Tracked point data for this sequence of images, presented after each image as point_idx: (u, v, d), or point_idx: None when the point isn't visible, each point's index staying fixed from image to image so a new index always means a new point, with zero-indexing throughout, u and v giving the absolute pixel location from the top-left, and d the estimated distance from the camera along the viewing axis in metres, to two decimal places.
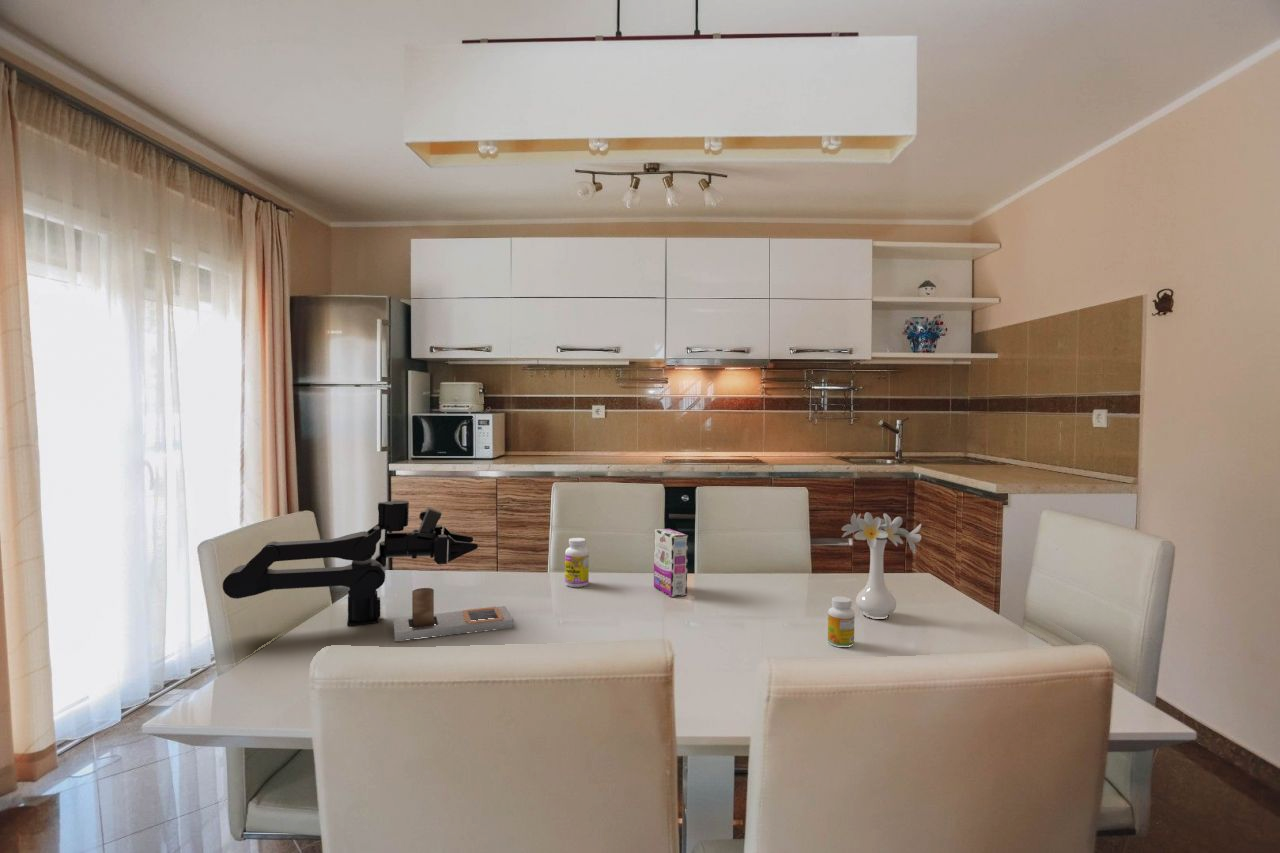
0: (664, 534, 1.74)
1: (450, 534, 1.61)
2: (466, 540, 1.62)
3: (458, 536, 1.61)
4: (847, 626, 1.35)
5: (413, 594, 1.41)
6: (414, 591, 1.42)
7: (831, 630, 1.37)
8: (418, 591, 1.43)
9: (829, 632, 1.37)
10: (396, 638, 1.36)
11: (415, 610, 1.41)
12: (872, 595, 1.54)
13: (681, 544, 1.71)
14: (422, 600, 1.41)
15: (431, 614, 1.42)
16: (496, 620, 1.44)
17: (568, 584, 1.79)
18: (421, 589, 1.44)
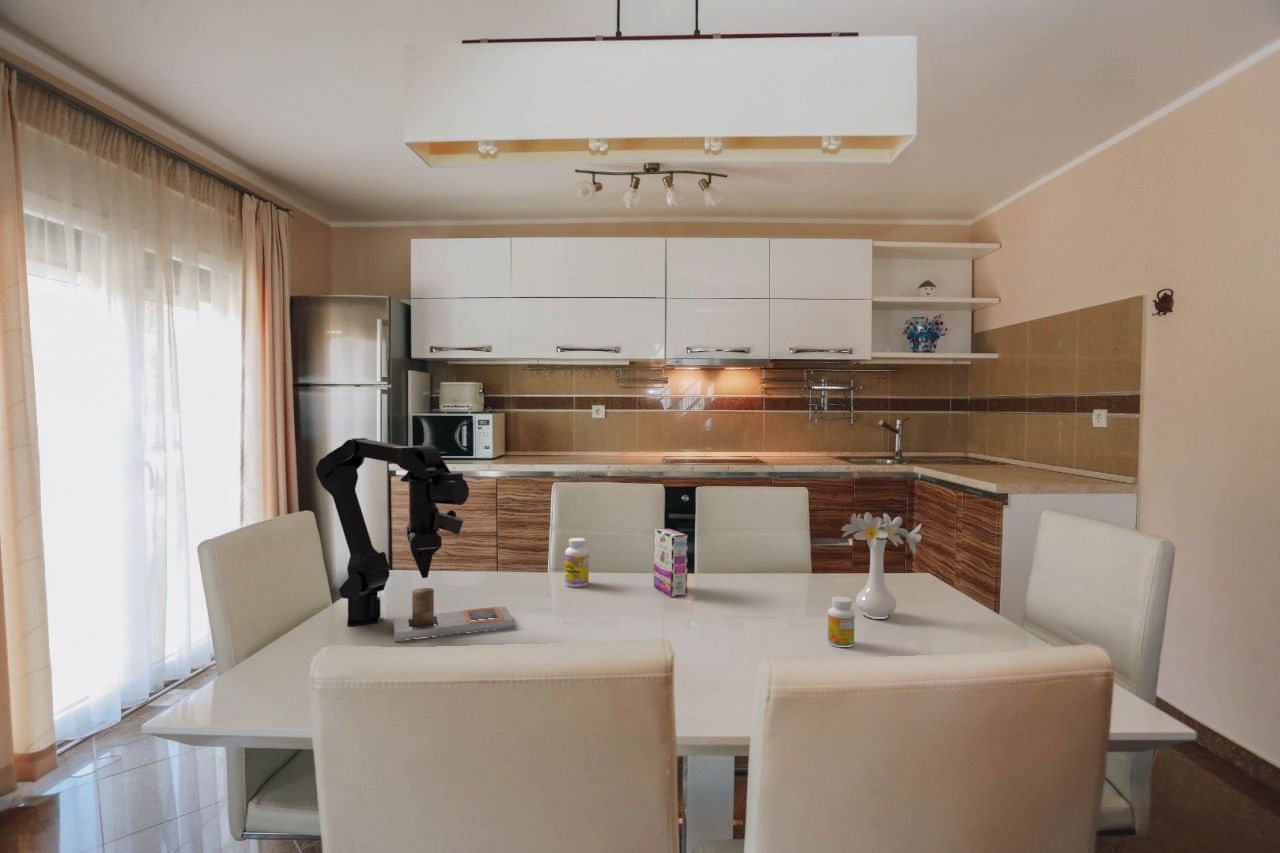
0: (664, 534, 1.74)
1: None
2: None
3: None
4: (847, 626, 1.35)
5: (413, 594, 1.41)
6: (414, 591, 1.42)
7: (831, 630, 1.37)
8: (418, 591, 1.43)
9: (829, 632, 1.37)
10: (396, 638, 1.36)
11: (415, 610, 1.41)
12: (872, 595, 1.54)
13: (681, 544, 1.71)
14: (422, 600, 1.41)
15: (431, 614, 1.42)
16: (496, 620, 1.44)
17: (568, 584, 1.79)
18: (421, 589, 1.44)
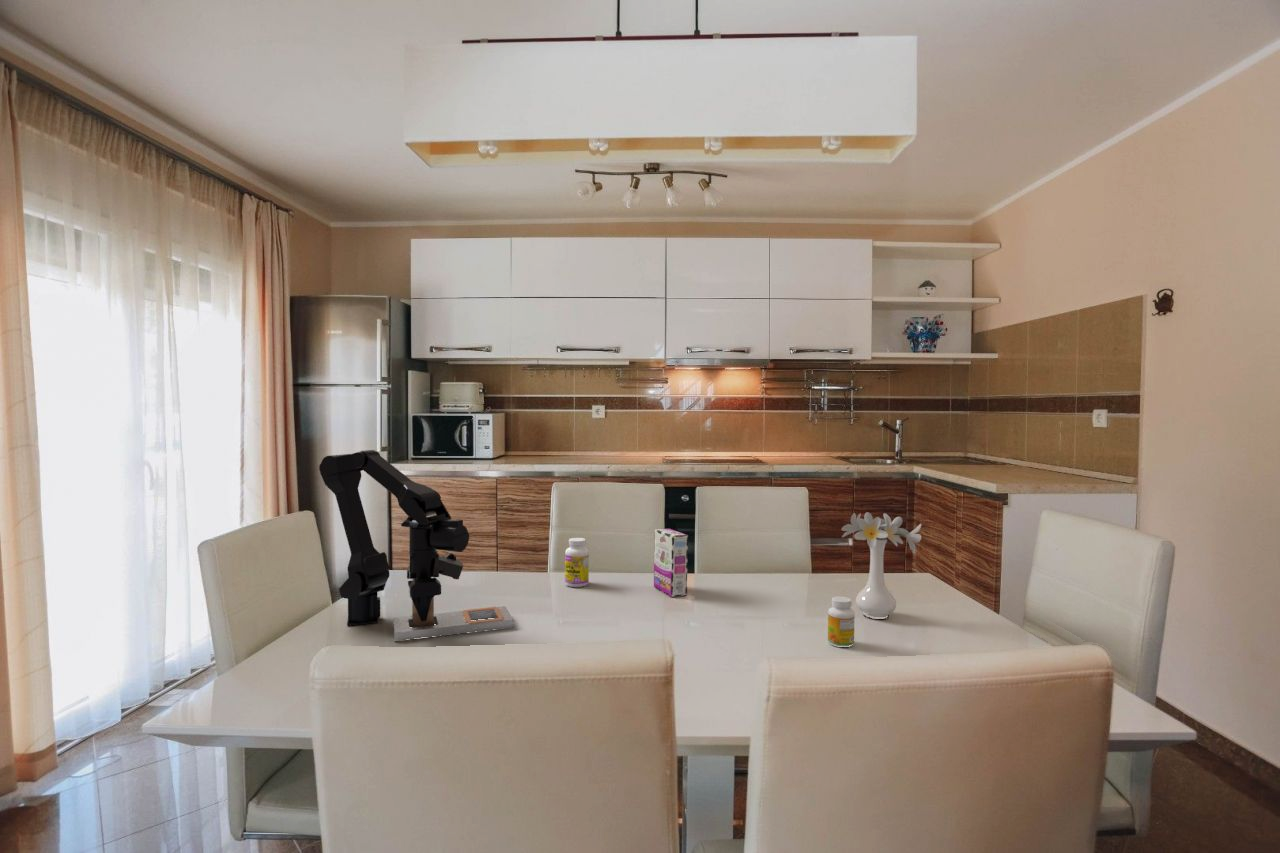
0: (664, 534, 1.74)
1: None
2: None
3: None
4: (847, 626, 1.35)
5: None
6: None
7: (831, 630, 1.37)
8: None
9: (829, 632, 1.37)
10: (396, 638, 1.36)
11: (415, 610, 1.41)
12: (872, 595, 1.54)
13: (681, 544, 1.71)
14: None
15: (431, 614, 1.42)
16: (496, 620, 1.44)
17: (568, 584, 1.79)
18: None
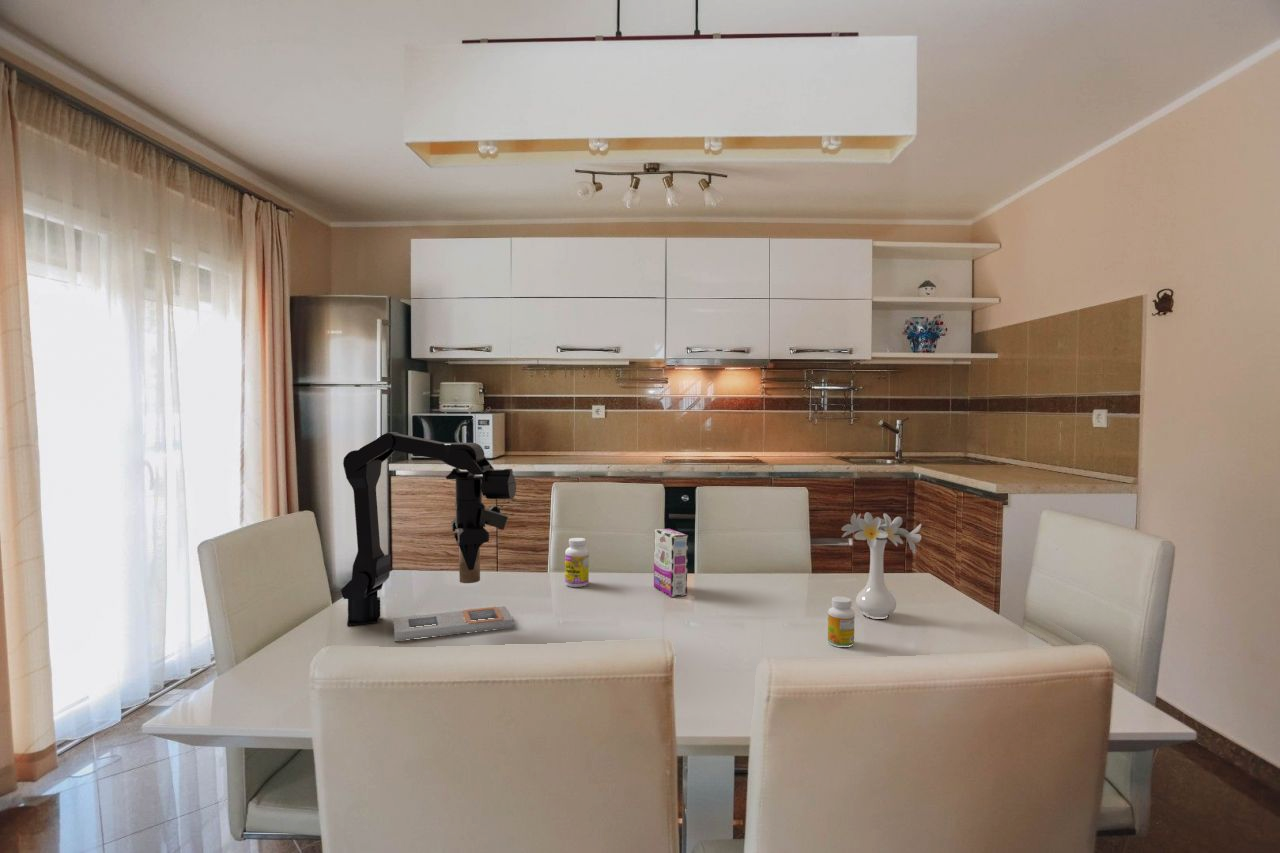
0: (664, 534, 1.74)
1: None
2: None
3: None
4: (847, 626, 1.35)
5: None
6: None
7: (831, 630, 1.37)
8: None
9: (829, 632, 1.37)
10: (396, 638, 1.36)
11: (463, 560, 1.44)
12: (872, 595, 1.54)
13: (681, 544, 1.71)
14: None
15: (478, 563, 1.45)
16: (496, 620, 1.44)
17: (568, 584, 1.79)
18: None
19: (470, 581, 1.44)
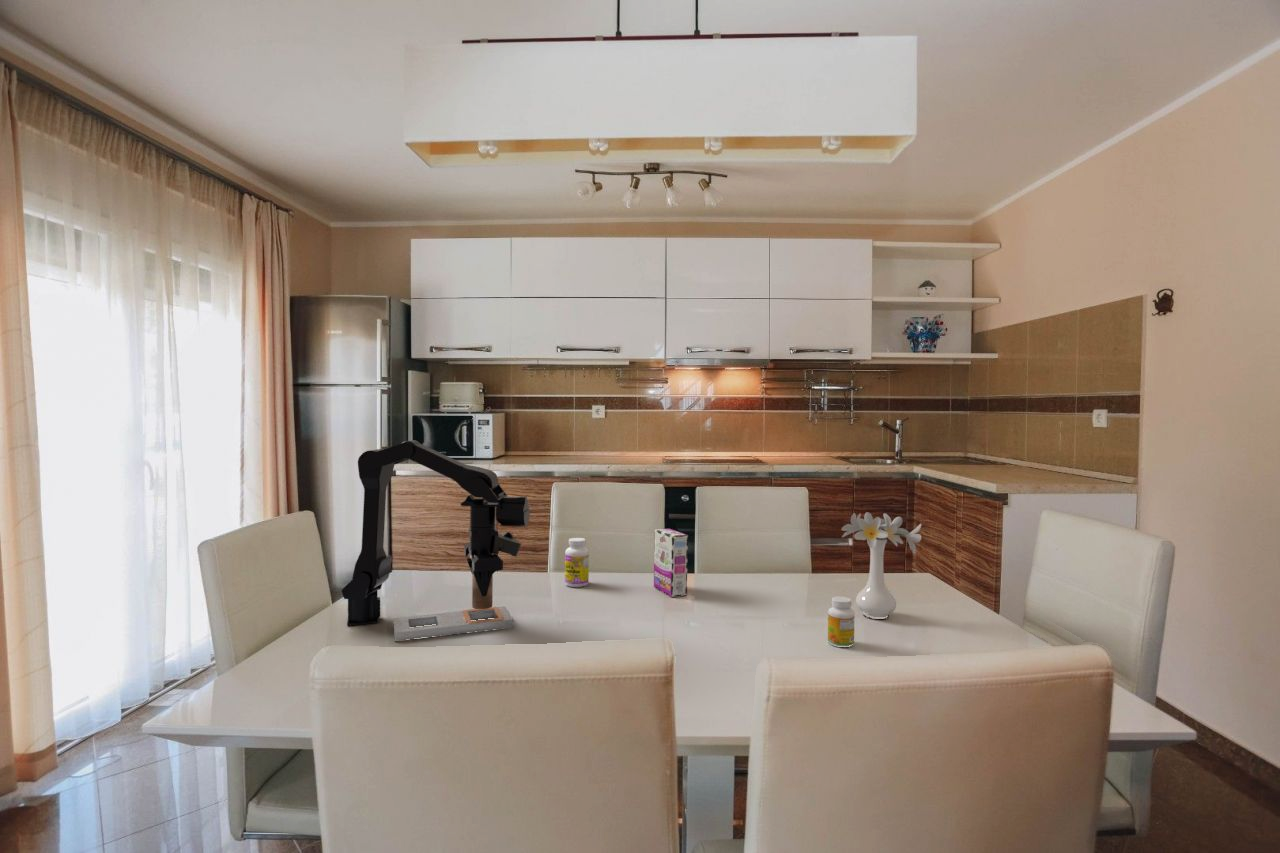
0: (664, 534, 1.74)
1: None
2: None
3: None
4: (847, 626, 1.35)
5: None
6: None
7: (831, 630, 1.37)
8: None
9: (829, 632, 1.37)
10: (396, 638, 1.36)
11: (476, 586, 1.46)
12: (872, 595, 1.54)
13: (681, 544, 1.71)
14: None
15: (490, 590, 1.47)
16: (496, 620, 1.44)
17: (568, 584, 1.79)
18: None
19: (483, 607, 1.46)
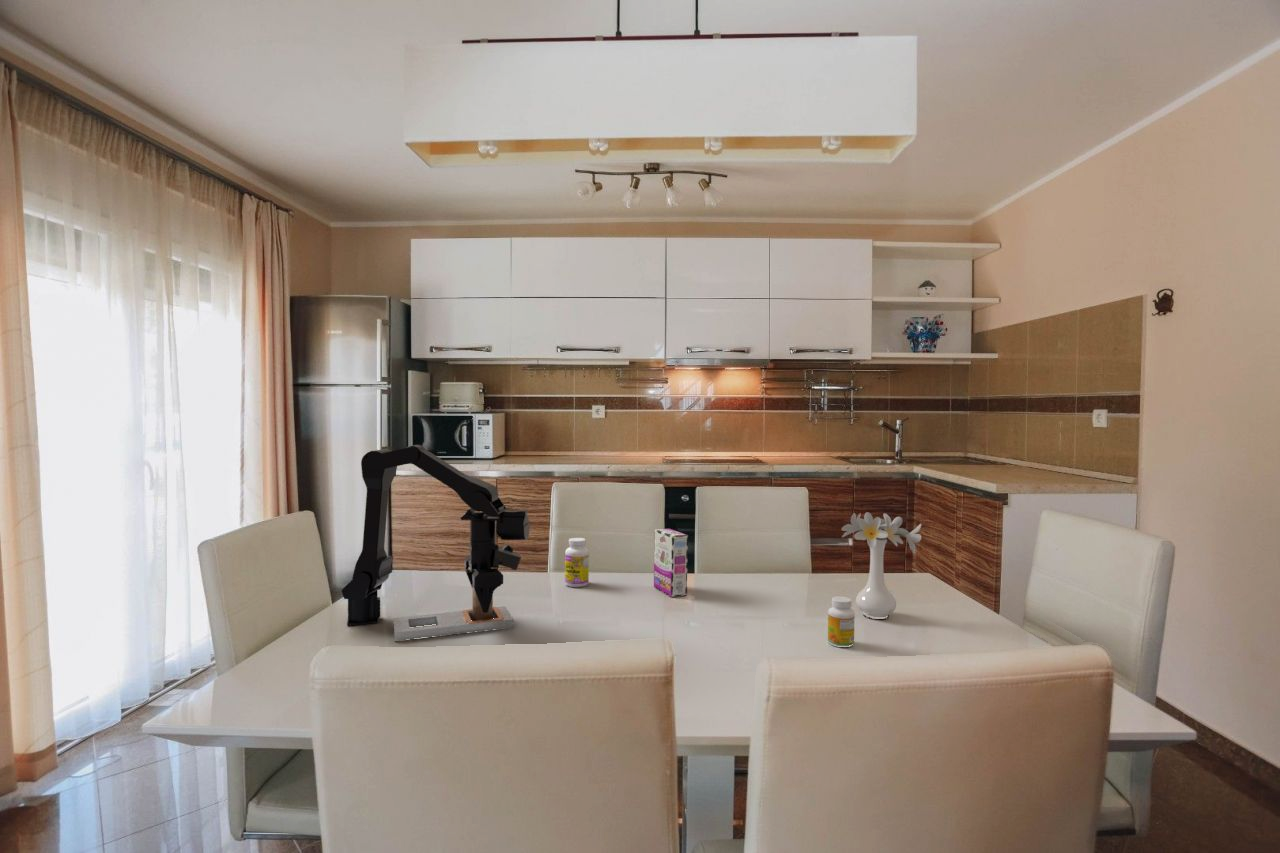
0: (664, 534, 1.74)
1: None
2: None
3: None
4: (847, 626, 1.35)
5: None
6: None
7: (831, 630, 1.37)
8: None
9: (829, 632, 1.37)
10: (396, 638, 1.36)
11: (476, 604, 1.46)
12: (872, 595, 1.54)
13: (681, 544, 1.71)
14: None
15: (491, 608, 1.47)
16: (496, 620, 1.44)
17: (568, 584, 1.79)
18: None
19: None
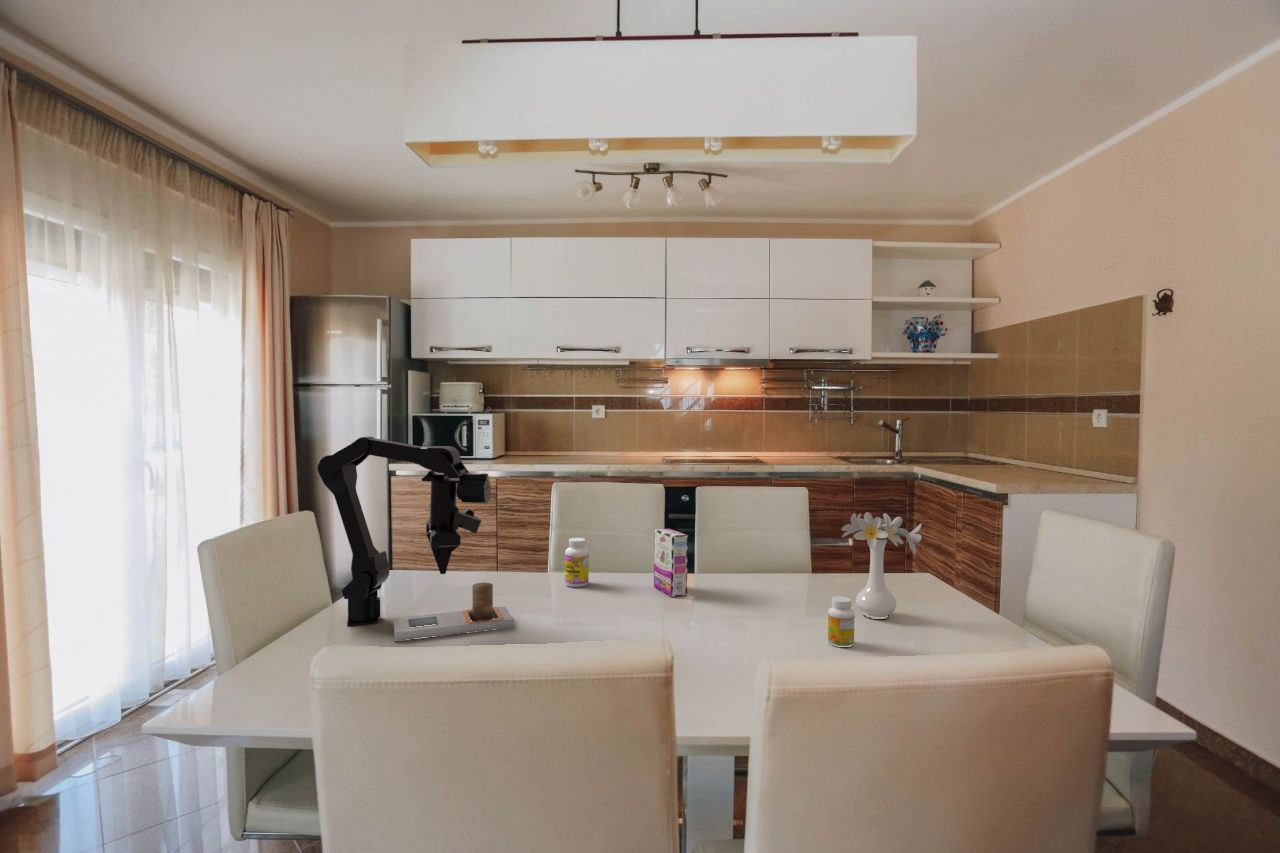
0: (664, 534, 1.74)
1: None
2: None
3: None
4: (847, 626, 1.35)
5: (473, 588, 1.46)
6: (474, 585, 1.47)
7: (831, 630, 1.37)
8: (478, 585, 1.47)
9: (829, 632, 1.37)
10: (396, 638, 1.36)
11: (476, 604, 1.46)
12: (872, 595, 1.54)
13: (681, 544, 1.71)
14: (483, 594, 1.46)
15: (491, 608, 1.47)
16: (496, 620, 1.44)
17: (568, 584, 1.79)
18: (480, 584, 1.49)
19: None
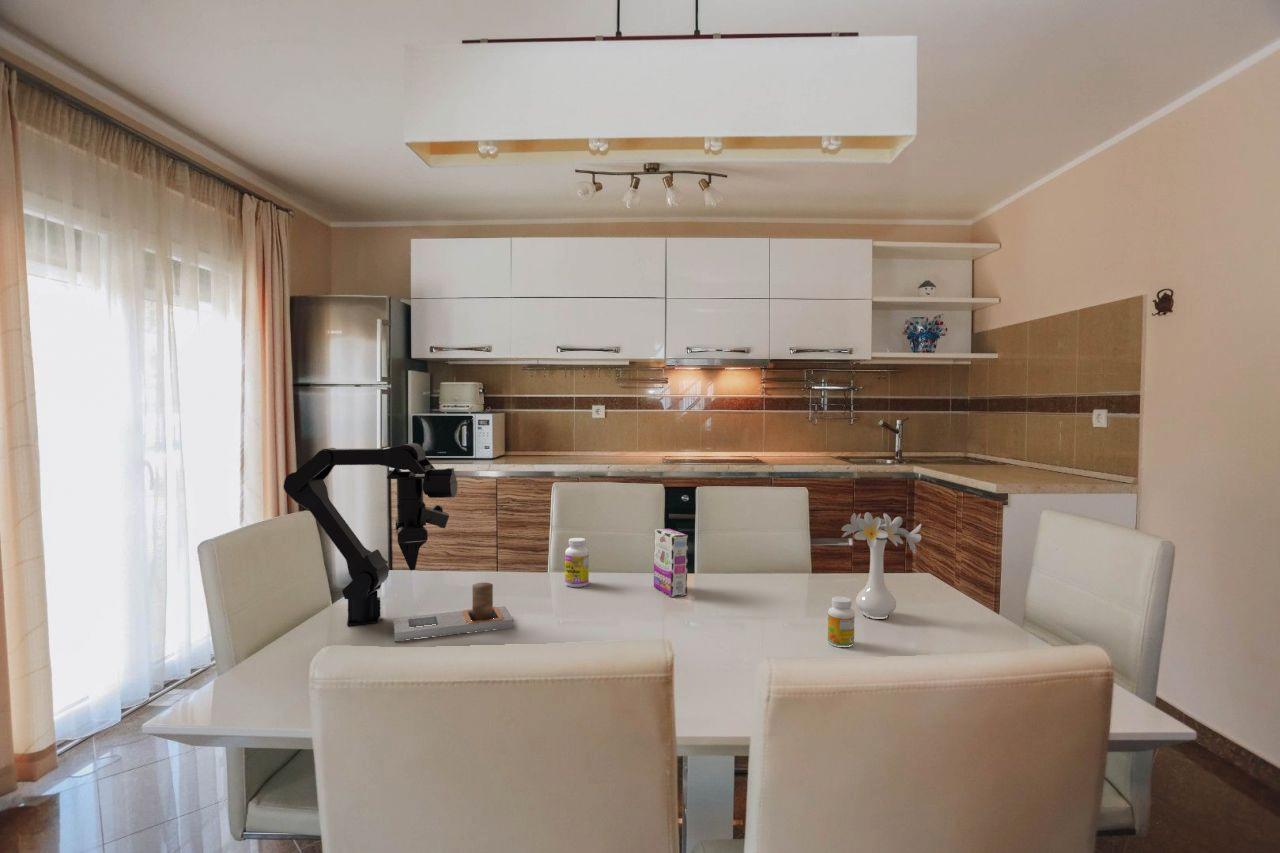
0: (664, 534, 1.74)
1: None
2: None
3: None
4: (847, 626, 1.35)
5: (474, 588, 1.46)
6: (474, 585, 1.47)
7: (831, 630, 1.37)
8: (478, 585, 1.47)
9: (829, 632, 1.37)
10: (396, 638, 1.36)
11: (476, 604, 1.46)
12: (872, 595, 1.54)
13: (681, 544, 1.71)
14: (483, 594, 1.46)
15: (491, 608, 1.47)
16: (496, 620, 1.44)
17: (568, 584, 1.79)
18: (480, 584, 1.49)
19: None
